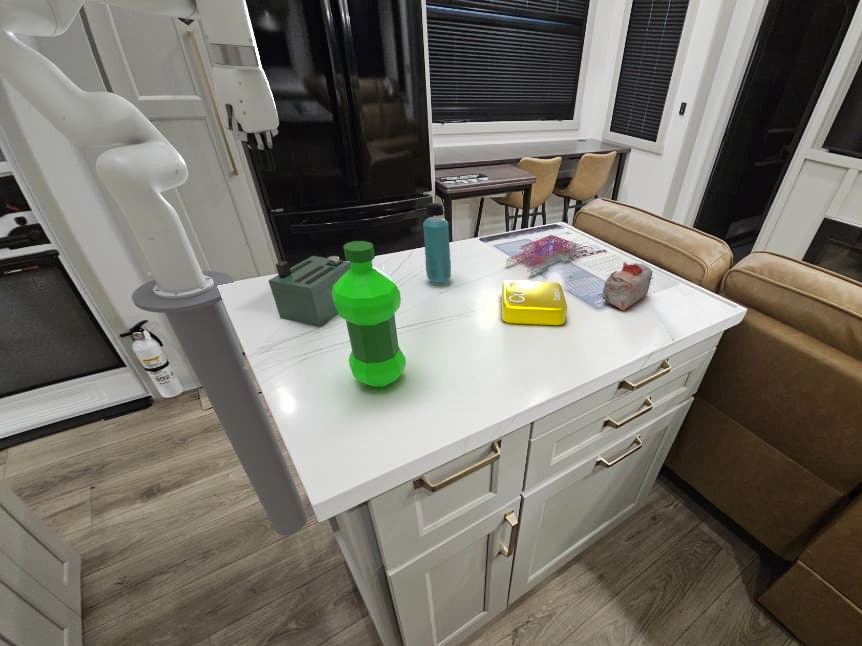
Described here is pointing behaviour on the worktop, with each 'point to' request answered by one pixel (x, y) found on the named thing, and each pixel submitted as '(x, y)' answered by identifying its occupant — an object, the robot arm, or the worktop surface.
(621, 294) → the food item
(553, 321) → the element tile
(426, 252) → the beverage bottle
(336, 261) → the button
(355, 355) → the plastic bottle
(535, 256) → the purple mottled irregular slab
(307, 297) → the toaster
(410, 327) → the worktop surface
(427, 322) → the worktop surface
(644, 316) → the worktop surface
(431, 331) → the worktop surface
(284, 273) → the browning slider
